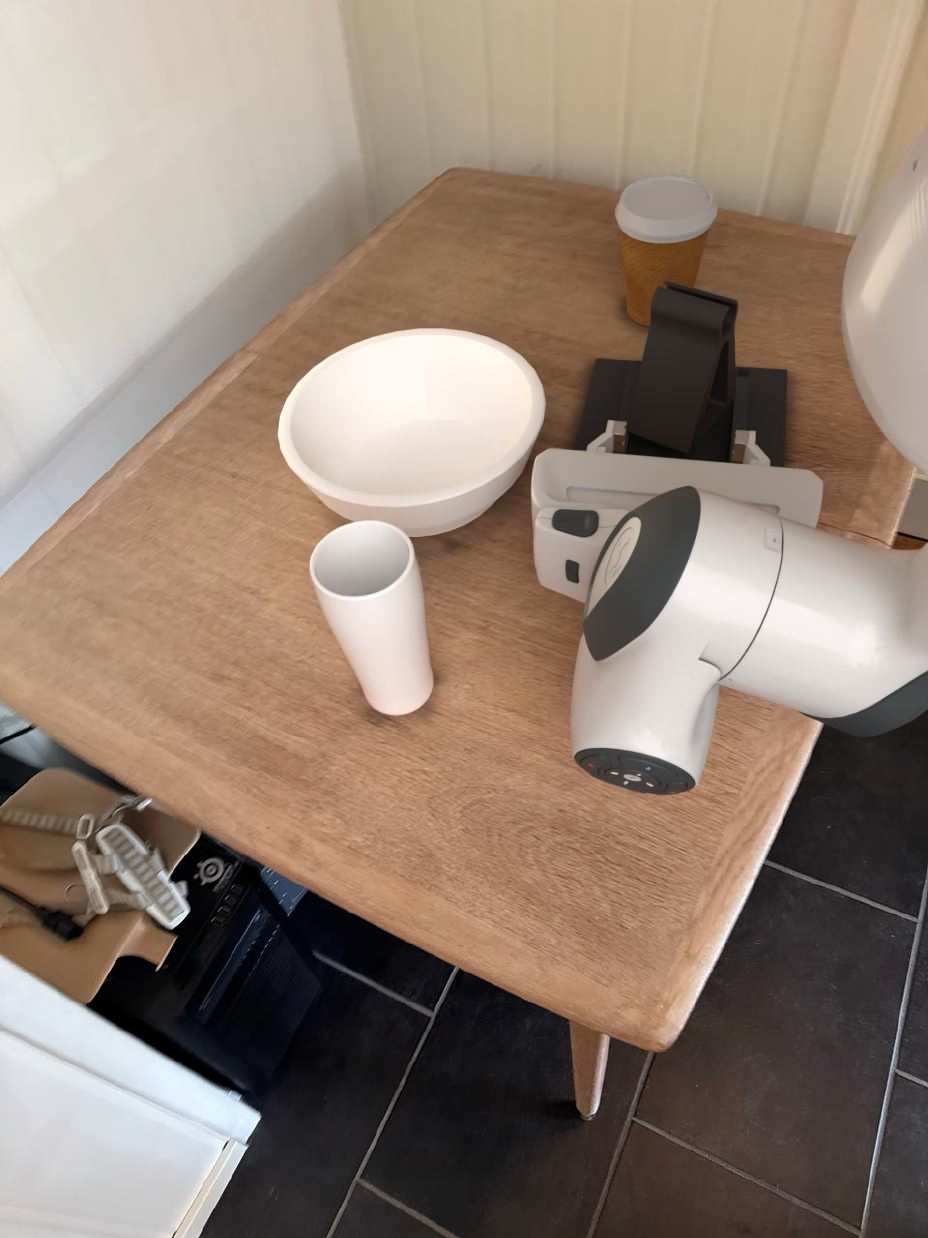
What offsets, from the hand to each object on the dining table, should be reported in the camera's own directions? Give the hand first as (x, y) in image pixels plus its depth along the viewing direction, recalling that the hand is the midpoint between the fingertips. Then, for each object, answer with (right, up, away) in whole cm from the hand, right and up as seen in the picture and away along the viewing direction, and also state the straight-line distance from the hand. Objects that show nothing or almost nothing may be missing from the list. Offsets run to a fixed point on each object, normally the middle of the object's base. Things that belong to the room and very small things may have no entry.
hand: (679, 431), depth 67 cm
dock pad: (+3, +2, +12) cm, 13 cm away
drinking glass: (-21, -20, -1) cm, 29 cm away
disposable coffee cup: (+4, +18, +25) cm, 31 cm away
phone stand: (+3, +3, +10) cm, 11 cm away
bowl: (-20, -2, +13) cm, 24 cm away
